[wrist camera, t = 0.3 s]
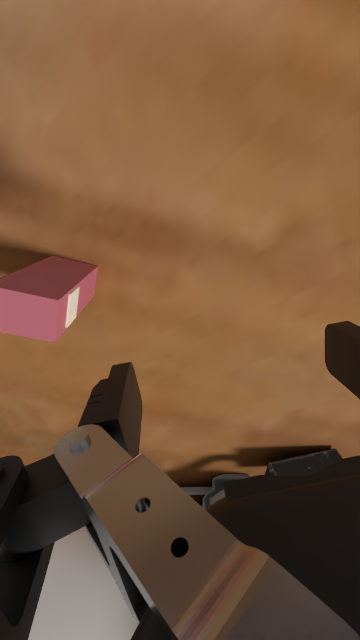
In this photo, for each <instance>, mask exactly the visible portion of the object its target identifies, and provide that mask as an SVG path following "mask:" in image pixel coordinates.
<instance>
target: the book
mask: <svg viewBox="0 0 360 640" xmlns="http://www.w3.org/2000/svg"><path fill="white" fill-rule="evenodd" d="M97 271H98V266H96V265H91V264H87V263H83V262H78V261H74V260H70V259H66V258H61V257H57V256H53V255H52V256H50V257H48V258H45V259H43V260H41V261H38V262H36V263H34V264H32V265H29V266H27V267H25V268H22V269H20V270H18V271H16V272H13V273H11V274H9V275H6V276H4V277H2V278H0V332H3V333H8V334H13V335H19V336H24V337H29V338H34V339H39V340H44V341H49V342H54V343H55V342H56V340H57V339H58V338H59V337H60V336H61V334H62V333H63V332H64V331H65V330H66V328H67V327H68V326H69V325H70V324H71V323H72V321H73V320H74V319H75V318H76V316H77V315H78V314H79V313H80V312H81V310H82V309H83V308H84V307H85V306H86V304H87V303H88V302H89V301H90V300H91V298H92V297H93V296H94V293H95V286H96V278H97Z"/></svg>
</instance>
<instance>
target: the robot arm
mask: <svg viewBox="0 0 360 640" xmlns="http://www.w3.org/2000/svg"><path fill="white" fill-rule="evenodd" d="M325 363H326V366H327V369H328V371H329V372H330V373H331V375H333V376H334V377H335V378H336V379H337V380H338V381H339V382H341V383H342V384H343V385H344V386H345V387H346V388H348V389H349V390H350V391H351V392H352V393H353V394H354V395H356V396H357V397H358V398H359V399H360V327H359V326H357V325H355V324H353V323H351V322H349V321H344V322H339V323H333V324H328V325H327V326H326V328H325ZM141 419H142V400H141V394H140V391H139V387H138V383H137V379H136V375H135V371H134V368H133V365H132V363H131V362H128V363H123V364H117V365H113V366H112V368H111V371H110V374H109V377H108V379H103V380H101V381H100V382H99V383H98V384H97V385H96V386H95V387H94V388H93V390H92V392H91V395H90V398H89V400H88V402H87V405H86V407H85V410H84V412H83V415H82V417H81V420H80V422H79V425H78V427H77V428H75V429H73V430H71V431H70V432H68V433H67V434H65V435H64V436H63V437H62V438H61V439H60V440H59V441H58V443H57V444H56V446H55V449H54V454H52V455H50V456H48V457H46V458H44V459H41V460H39V461H37V462H34V463H32V464H30V465H27V466H24V464H23V462H22V460H21V458H20V457H18V456H5V457H2V458H0V640H28V637H29V633H30V630H31V626H32V622H33V619H34V615H35V611H36V608H37V604H38V600H39V597H40V593H41V590H42V586H43V582H44V579H45V575H46V571H47V568H48V564H49V560H50V556H51V553H52V550H53V546H54V542H55V541H57V540H59V539H61V538H63V537H65V536H67V535H69V534H70V533H72V532H74V531H76V530H78V529H80V528H82V527H85V529H86V531H87V532H88V534H89V536H90V538H91V539H92V541H93V543H94V545H95V546H96V548H97V550H98V551H99V553H100V555H101V557H102V559H103V560H104V562H105V564H106V566H107V567H108V569H109V571H110V573H111V574H112V576H113V578H114V580H115V581H116V584H117V586H118V588H119V590H120V592H121V594H122V596H123V598H124V600H125V602H126V604H127V606H128V608H129V610H130V612H131V614H132V615H133V617H134V619H135V621H136V623H137V624H138V627H137V629H136V630H135V632H134V634H133V636H132V638H131V640H360V456H355V457H350V458H345V459H341V460H339V461H337V462H335V463H333V464H331V465H329V466H327V467H325V468H323V469H321V470H319V471H317V472H315V473H313V474H311V475H308V476H281V475H259V476H254V477H248V478H243V479H238V480H233V481H228V482H223V487H224V493H225V497H223V498H221V499H219V500H217V501H216V502H214V503H213V504H211V505H210V506H209V507H208V508H207V509H204V508H202V507H201V506H200V505H199V504H198V503H197V502H196V501H195V500H194V499H193V498H191V497H190V496H189V495H188V494H187V493H186V492H185V491H184V490H183V489H181V488H180V487H179V486H178V485H177V484H176V483H175V482H174V481H173V480H171V479H170V478H169V477H168V476H167V475H166V474H165V473H164V472H163V471H162V470H160V469H159V468H158V467H157V466H156V465H155V464H154V463H153V462H152V461H150V460H149V459H148V458H147V457H146V456H145V455H143V454H142V453H139V442H140V431H141Z"/></svg>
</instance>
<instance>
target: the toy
mask: <svg viewBox="0 0 360 640" xmlns="http://www.w3.org/2000/svg"><path fill="white" fill-rule="evenodd" d="M341 459H342V457H341V456H340V454H339V453H338V452H337V450H336V449H330V450H325V451H321V452H316V453H311V454H306V455H302V456H297V457H292V458H287V459H283V460H278V461H273V462H269V464H268V467H267V470H266V473H265V475H281V476H308V475H311V474H313V473H315V472H317V471H319V470H321V469H323V468H325V467H327V466H329V465H331V464H333V463H335V462H337V461H339V460H341ZM248 477H250V476H249V475H247V474H221V475H219V476H216V477H214V478H213V480H212V487H180V488H181V489H183V490H184V491H185V492H186V493H187V494H188V495H205V496H204V498H203V499H202V500H203V504H199V505H200V506H201V507H202V508H204V509H207V508H208V507H209V506H210V505H211V504H213V503H214V502H216V501H217V500H219V499H221V498H223V497H225V493H224V487H223V482H228V481H233V480H238V479H243V478H248Z"/></svg>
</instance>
